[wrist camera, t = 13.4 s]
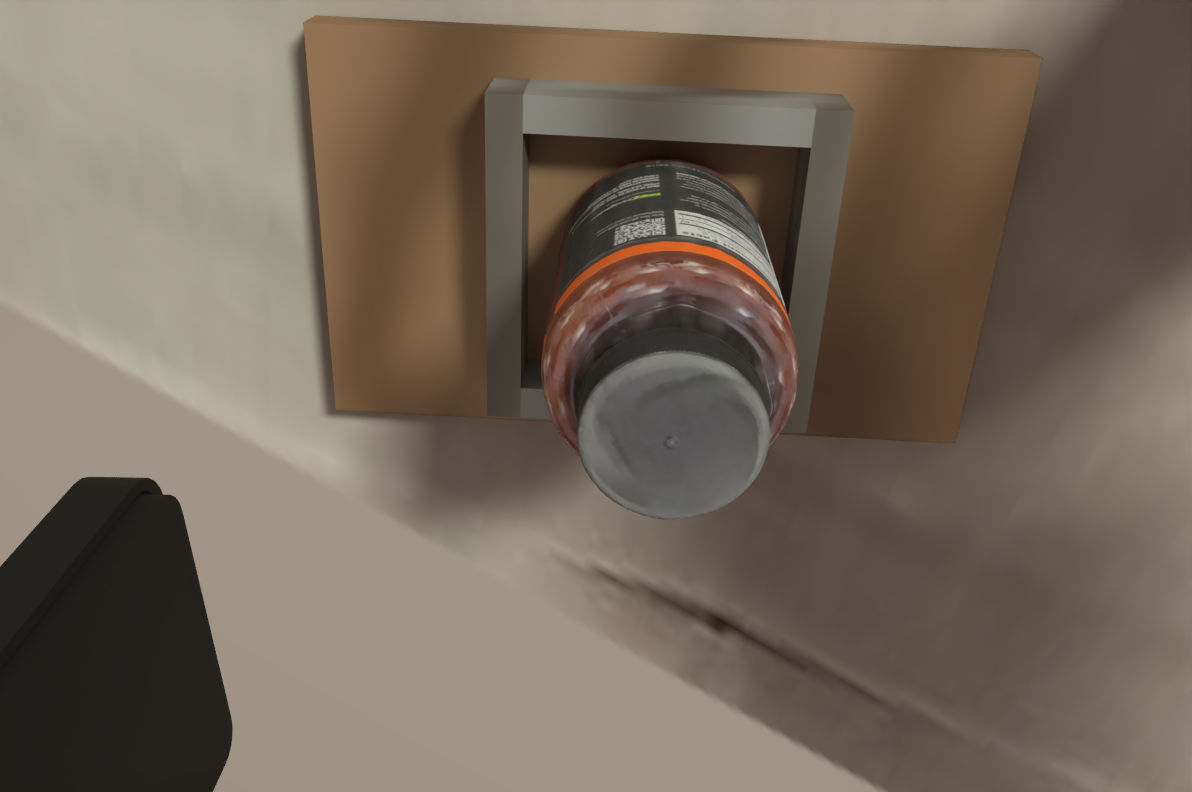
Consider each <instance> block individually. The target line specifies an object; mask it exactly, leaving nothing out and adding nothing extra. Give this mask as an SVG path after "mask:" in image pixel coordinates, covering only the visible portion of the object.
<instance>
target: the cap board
mask: <svg viewBox="0 0 1192 792" xmlns="http://www.w3.org/2000/svg"><path fill="white" fill-rule="evenodd" d="M303 26H304V38H305V50H306V62H307V74H308V86H309V98H310V110H311V122H312V134H313V146H314V158H315V170H316V182H317V194H318V206H319V218H320V230H321V242H322V254H323V266H324V278H325V290H326V302H327V314H328V326H329V338H330V350H331V362H332V374H333V386H334V398H335V410H351V411H370V412H388V413H406V414H425V415H443V416H461V417H480V418H498V419H516V420H535V421H553V420H552V418H551V416H550V414H549V411H548V407H547V404H546V401H545V397H544V394H543V385H542V377H541V361H542V353H543V346H544V337H545V331H546V325H547V321H548V315H549V309H550V303H551V297H552V292H553V286H554V281H555V276H556V269H557V264H558V258H559V252H560V247H561V244H562V240H563V236H564V232H565V229H566V226H567V223H568V220H569V218H570V216H571V214H572V212H573V210H574V208H575V207H576V205H577V204H578V202H579V201H580V199H581V198H582V196H583V195H584V194H585V193H586V192H587V191H588V189H589V188H590V187H591V186H592V185H593V184H594V183H596V182H597V181H598V180H600V179H601V178H603V177H604V176H605V175H606V174H608V173H610V172H612V171H614V170H616V169H618V168H620V167H622V166H624V165H627V164H629V163H633V162H637V161H640V160H644V159H654V158H678V159H683V160H688V161H692V162H694V163H697V164H701V165H703V166H705V167H707V168H709V169H712V170H714V171H715V172H717V173H718V174H720V175H721V176H723V177H724V178H726V179H727V180H728V181H730V182H731V183H732V184H733V185H734V186H735V187H736V188H737V189H738V190H739V191H740V192H741V194H742V195H743V196H744V197H745V199H746V200H747V202H748V203H749V205H750V207H751V209H752V210H753V212H754V214H755V217H756V219H757V221H758V224H759V226H760V229H761V232H762V235H763V237H764V241H765V244H766V247H767V250H768V254H769V257H770V260H771V263H772V266H773V270H774V273H775V276H776V279H777V282H778V285H779V288H780V291H781V295H782V298H783V301H784V304H785V307H786V311H787V314H788V317H789V320H790V325H791V328H792V331H793V335H794V338H795V343H796V348H797V356H798V364H799V374H798V383H797V390H796V397H795V402H794V404H793V407H792V410H791V414H790V415H789V417H788V419H787V422H786V424H785V426H784V428H783V429H782V431H781V432H780V434H791V435H810V436H828V437H847V438H865V439H883V440H902V441H920V442H938V443H955V442H956V438H957V434H958V429H959V425H960V420H961V416H962V412H963V407H964V403H965V398H966V394H967V390H968V385H969V381H970V376H971V372H972V368H973V363H974V359H975V354H976V350H977V346H978V341H979V337H980V333H981V328H982V324H983V319H984V315H985V311H986V306H987V302H988V297H989V293H990V289H991V284H992V280H993V275H994V271H995V267H996V262H997V258H998V253H999V249H1000V245H1001V240H1002V236H1003V232H1004V227H1005V223H1006V218H1007V214H1008V210H1009V205H1010V201H1011V196H1012V192H1013V188H1014V183H1015V179H1016V174H1017V170H1018V166H1019V161H1020V157H1021V152H1022V148H1023V144H1024V139H1025V135H1026V131H1027V126H1028V122H1029V117H1030V113H1031V109H1032V104H1033V100H1034V95H1035V91H1036V87H1037V82H1038V78H1039V73H1040V69H1041V65H1042V60H1043V58H1041V57H1039V56H1037V55H1036V54H1034V53H1032V52H1031V51H1029V50H1010V49H989V48H968V47H948V46H927V45H907V44H886V43H865V42H845V41H824V40H804V39H783V38H762V37H742V36H721V35H701V34H680V33H660V32H639V31H618V30H598V29H577V28H557V27H536V26H515V25H495V24H474V23H454V22H433V21H412V20H392V19H371V18H351V17H330V16H314V17H312V18H310V19H309V20H307V21H305V22H303Z"/></svg>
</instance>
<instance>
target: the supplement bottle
mask: <svg viewBox="0 0 1192 792" xmlns="http://www.w3.org/2000/svg"><path fill="white" fill-rule="evenodd" d="M798 374H799V364H798V356H797V348H796V343H795V338H794V335H793V331H792V328H791V325H790V320H789V317H788V314H787V311H786V307H785V304H784V301H783V298H782V295H781V291H780V288H779V285H778V282H777V279H776V276H775V273H774V270H773V266H772V263H771V260H770V257H769V254H768V250H767V247H766V244H765V241H764V237H763V235H762V232H761V229H760V226H759V224H758V221H757V219H756V217H755V214H754V212H753V210H752V209H751V207H750V205H749V203H748V202H747V200H746V199H745V197H744V196H743V195H742V194H741V192H740V191H739V190H738V189H737V188H736V187H735V186H734V185H733V184H732V183H731V182H730V181H728V180H727V179H726V178H724V177H723V176H721V175H720V174H718V173H717V172H715V171H714V170H712V169H709V168H707V167H705V166H703V165H701V164H697V163H694V162H692V161H688V160H683V159H678V158H654V159H644V160H640V161H637V162H633V163H629V164H627V165H624V166H622V167H620V168H618V169H616V170H614V171H612V172H610V173H608V174H606V175H605V176H604V177H603V178H601V179H600V180H598V181H597V182H596V183H594V184H593V185H592V186H591V187H590V188H589V189H588V191H587V192H586V193H585V194H584V195H583V196H582V198H581V199H580V201H579V202H578V204H577V205H576V207H575V208H574V210H573V212H572V214H571V216H570V218H569V220H568V223H567V226H566V229H565V232H564V236H563V240H562V244H561V247H560V252H559V258H558V264H557V269H556V276H555V281H554V286H553V292H552V297H551V303H550V309H549V315H548V321H547V325H546V331H545V337H544V346H543V353H542V361H541V377H542V385H543V394H544V397H545V401H546V404H547V407H548V411H549V414H550V416H551V418H552V420H553V422H554V424H555V426H556V428H557V429H558V431H559V433H560V434H561V436H562V437H563V439H564V440H565V442H566V443H567V444H568V445H569V446H570V447H571V448H572V449H573V450H574V451H575V452H576V454H577V455H578V456H580V457H581V461H582V464H583V466H584V468H585V470H586V472H587V473H588V475H589V477H590V478H591V480H592V481H593V482H594V483H595V484H596V486H597V487H598V488H599V489H600V490H601V491H602V492H603V493H604V494H605V495H606V496H607V497H609V498H610V499H612V500H613V501H614V502H616V503H618V504H619V505H621V506H622V507H624V508H626V509H628V510H631V511H633V512H636V513H638V514H641V515H644V516H650V517H654V518H658V519H685V518H692V517H696V516H700V515H704V514H707V513H710V512H713V511H716V510H718V509H719V508H722V507H724V506H726V505H727V504H729V503H730V502H732V501H734V500H735V499H736V498H737V497H739V496H740V495H741V494H742V493H743V492H744V491H745V490H746V489H747V488H748V487H749V486H750V485H751V484H752V483H753V482H754V480H755V479H756V477H757V476H758V474H759V473H760V471H761V469H762V467H763V464H764V462H765V459H766V456H767V453H768V450H769V446H771V444H772V443H773V442H774V441H775V440H776V439H777V437H778V435H779V434H780V432H781V431H782V429H783V428H784V426H785V424H786V422H787V419H788V417H789V415H790V414H791V410H792V407H793V404H794V402H795V397H796V390H797V383H798Z"/></svg>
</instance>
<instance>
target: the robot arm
mask: <svg viewBox="0 0 1192 792" xmlns="http://www.w3.org/2000/svg"><path fill="white" fill-rule="evenodd" d="M231 741H232V720H231V715H230V710H229V707H228V702H227V698H226V693H225V689H224V685H223V681H222V677H221V672H220V668H219V664H218V660H217V656H216V651H215V647H214V644H213V639H212V635H211V630H210V626H209V622H208V618H207V613H206V609H205V606H204V601H203V596H202V592H201V588H200V584H199V580H198V575H197V571H196V567H195V563H194V559H193V554H192V550H191V546H190V542H189V537H188V533H187V529H186V525H185V520H184V516H183V513H182V509H181V506H180V503H179V502H178V500H177V499H176V498H175V497H174V496H172V495H163V494H162V491H161V489H160V487H159V486H158V485H157V483H156V482H155V481H154V480H151V479H149V478H119V477H118V478H117V477H87V478H81V479H80V480H79V481H78V482H76V483H75V484H74V485H73V486H72V487H71V488H70V489H69V490H68V492H67V493H66V494H65V495H64V496H63V497H62V498H61V499H60V500H59V502H58V503H57V504H56V505H55V506H54V507H53V508H52V509H51V511H50V512H49V513H48V514H47V515H46V516H45V517H44V518H43V519H42V521H41V522H40V523H39V524H38V525H37V526H36V527H35V529H34V530H33V531H32V532H31V533H30V534H29V535H28V536H27V538H26V539H25V540H24V541H23V542H22V543H21V544H20V545H19V546H18V548H17V549H16V550H15V551H14V552H13V553H12V554H11V555H10V556H9V558H8V559H7V560H6V561H5V562H4V563H3V564H2V565H1V567H0V792H213V790H214V788H215V786H216V783H217V781H218V779H219V777H220V775H221V773H222V771H223V768H224V766H225V764H226V761H227V759H228V756H229V752H230V747H231Z"/></svg>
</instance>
